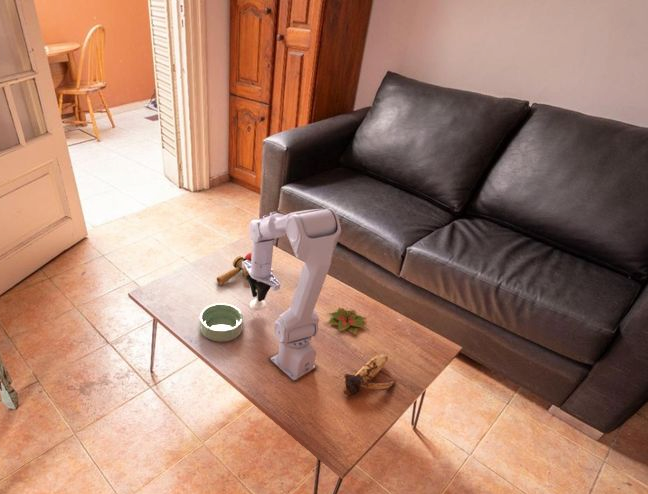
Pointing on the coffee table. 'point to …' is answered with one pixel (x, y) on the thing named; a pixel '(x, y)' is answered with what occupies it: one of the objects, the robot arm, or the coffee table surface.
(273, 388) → the coffee table surface
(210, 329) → the bowl
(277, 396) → the coffee table surface
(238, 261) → the kendama
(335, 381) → the coffee table surface
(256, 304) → the chess piece
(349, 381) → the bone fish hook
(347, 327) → the succulent plant
